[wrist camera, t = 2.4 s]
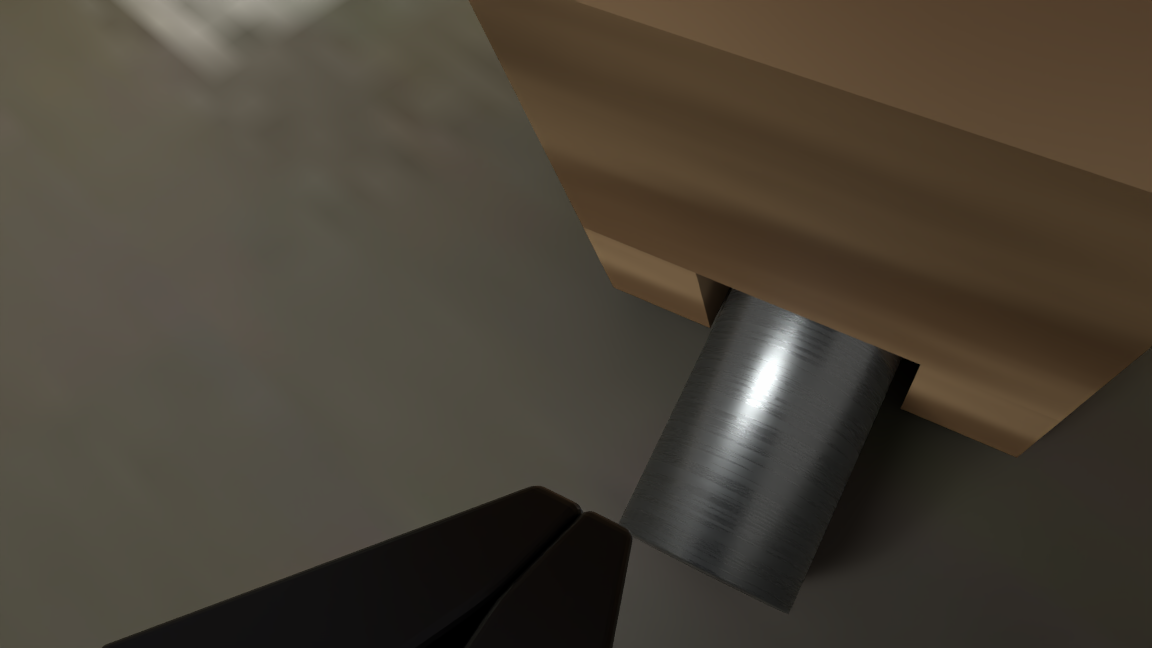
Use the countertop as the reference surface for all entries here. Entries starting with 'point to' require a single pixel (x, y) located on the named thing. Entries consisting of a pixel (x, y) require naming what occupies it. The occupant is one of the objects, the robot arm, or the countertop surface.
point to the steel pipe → (760, 448)
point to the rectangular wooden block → (868, 176)
